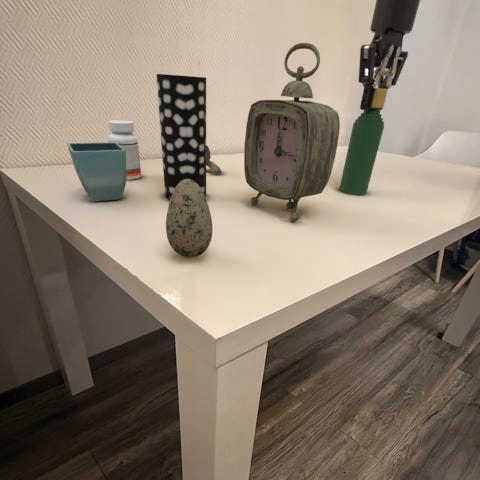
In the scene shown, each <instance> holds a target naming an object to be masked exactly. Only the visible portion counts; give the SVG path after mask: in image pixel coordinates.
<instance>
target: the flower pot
mask: <svg viewBox="0 0 480 480" xmlns="http://www.w3.org/2000/svg"><path fill="white" fill-rule="evenodd" d="M66 144H67V148H68V151H69V154H70V155H69V156H70V158H71V161H72V164H73V168H74V170H75V173H76V176H77V178H78V179H79V182H80V183H81V186H82V188H83V189H84V192H85V193H86V194H87V196H88V197H89V199H90V200H91V201H92V202H102V201H113V200H116V201H117V200H121V199H122V197H123V195H124V192H125V189H126V185H127V180H126V150H125V149H124V148H123V147H121V146H120V145H119V144H118V143H109V142H70V143H68V142H67V143H66Z"/></svg>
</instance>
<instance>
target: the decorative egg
mask: <svg viewBox="0 0 480 480" xmlns="http://www.w3.org/2000/svg"><path fill="white" fill-rule="evenodd" d="M210 210H211V209H210V207H209V204H208V200H207V196H206V197H205V195H204V193H203V191H202V190H201V188H200V187H199V185H198V184H197V183H196V182H195V181H193V180H191V179H184V180H182V181H181V182H180V183H179V184H178V185H177V186H176V188H175V189H174V191H173V194H172V196H171V199H170V200H169V202H168V207H167V210H166V217H165V233H166V237H167V241H168V243H169V245H170V248H172V250H173V251H174V252H175V253H176V254H177V255H179V256H180V257H183V258H185V259H195V258H198V257H201V256H202V255H203V254H204V253H205V252H206V251H207V250H208V249H209V246H210V245H211V242H212V237H213V219H212V214H211V211H210Z"/></svg>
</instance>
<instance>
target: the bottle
mask: <svg viewBox="0 0 480 480" xmlns="http://www.w3.org/2000/svg"><path fill="white" fill-rule="evenodd" d="M383 120H384V118H383V117H382V114H381V110H379V108H372V107H371V109H370V110H363V112H361V113H360V115H358V116H357V118H356V119H355V120H354V122H353V123H352V128H351V133H350V137H349V142H348V146H347V152H346V156H345V161H344V166H343V169H342V174H341V178H340V183H339V187H338V190H339V192H340V193H342V194H346V195H351V196H365V195H366V194H367V193H368V189H369V185H370V181H371V177H372V173H373V170H374V166H375V162H376V158H377V155H378V152H379V147H380V143H381V141H382V140H381V139H382V136H383V132H384V129H385V125H384V124H385V121H383Z"/></svg>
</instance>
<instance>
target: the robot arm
mask: <svg viewBox="0 0 480 480" xmlns="http://www.w3.org/2000/svg"><path fill="white" fill-rule="evenodd" d="M420 3H421V0H376V1H375V4H374V9H373V14H372V20H371V23H370V32H371V33H373V34H374V35H373V37H372V40H371V42H370V43H368V44H362V45H361V46H360V50H359V69H358V83H359V84H362V87H363V91H362V96H361V100H360V106H359V109H360V110H361V111H364V110H370V109H371V107H372V103H373V99H374V94H375V90H376V89H374V88H383V89H388V90H390V89H391V88H392V87H394V86H396V85H397V82H398V80H399V78H400V76H401V73H402V71H403V69H404V66H405V64H406V61H407V59H408V56H409V52H408V51H404V50H403V49H402V48H403V41H404V36H405V35H408V34H410V33H411V32H412V31H413V29H414V24H415V21H416V17H417V13H418V10H419V6H420ZM388 90H387V92H388ZM383 109H384V107H383V108H379V111H382V110H383Z"/></svg>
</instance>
